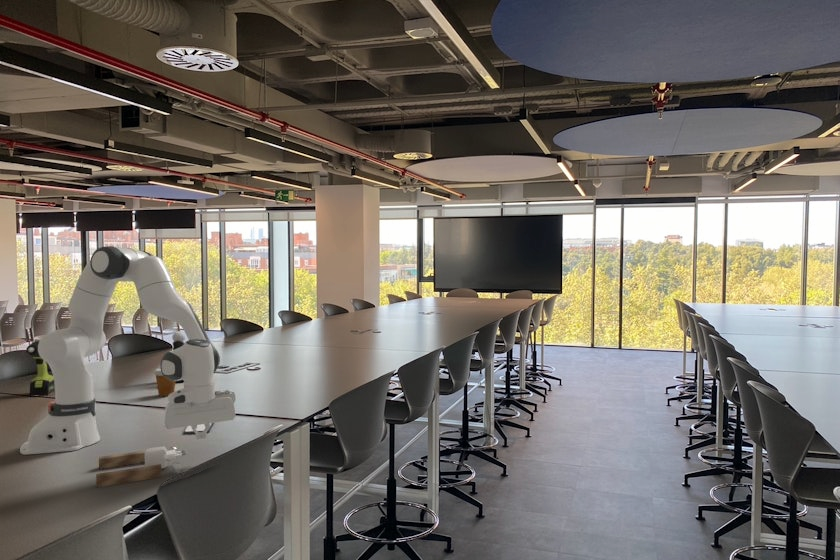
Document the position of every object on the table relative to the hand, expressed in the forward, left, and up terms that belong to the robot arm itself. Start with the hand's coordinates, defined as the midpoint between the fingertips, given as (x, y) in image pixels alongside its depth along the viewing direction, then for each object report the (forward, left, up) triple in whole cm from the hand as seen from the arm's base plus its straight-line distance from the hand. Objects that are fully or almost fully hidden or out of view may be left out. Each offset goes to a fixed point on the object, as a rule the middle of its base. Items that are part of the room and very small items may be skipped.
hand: (201, 438), depth 173 cm
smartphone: (+3, +38, -8) cm, 38 cm away
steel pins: (-8, 0, -7) cm, 10 cm away
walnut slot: (-20, 0, -7) cm, 21 cm away
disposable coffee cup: (-5, +98, -7) cm, 98 cm away
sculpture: (+2, +126, -7) cm, 126 cm away
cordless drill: (-56, +124, -7) cm, 136 cm away
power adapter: (-10, 0, -7) cm, 12 cm away
